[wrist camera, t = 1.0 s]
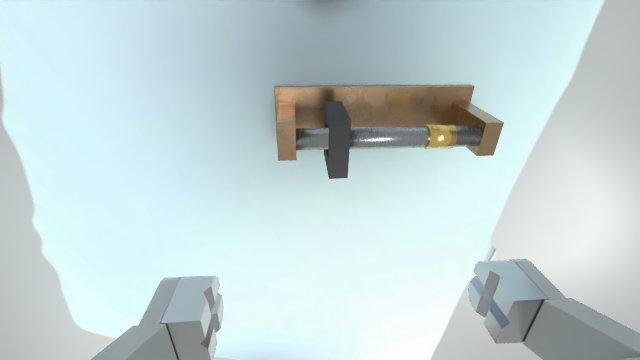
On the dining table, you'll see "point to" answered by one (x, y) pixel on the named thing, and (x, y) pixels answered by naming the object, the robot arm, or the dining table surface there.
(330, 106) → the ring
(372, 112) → the rail
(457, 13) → the dining table surface
